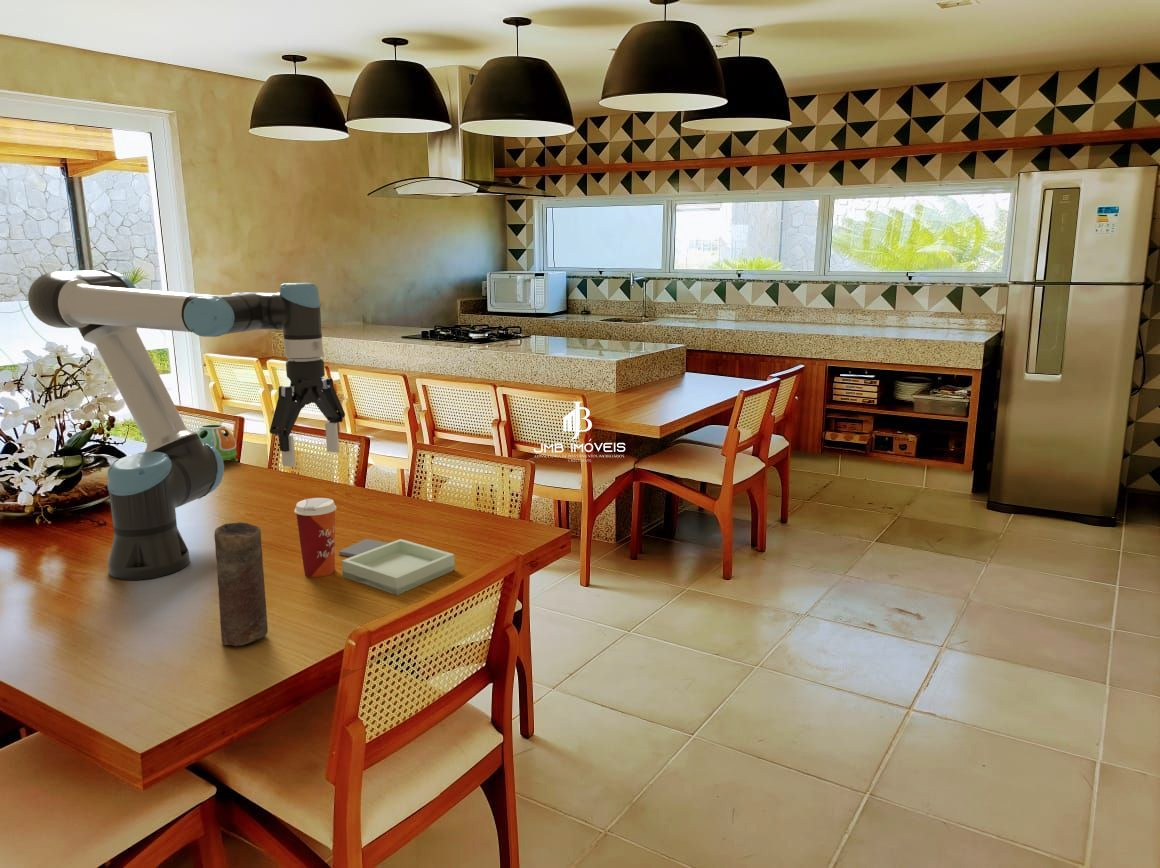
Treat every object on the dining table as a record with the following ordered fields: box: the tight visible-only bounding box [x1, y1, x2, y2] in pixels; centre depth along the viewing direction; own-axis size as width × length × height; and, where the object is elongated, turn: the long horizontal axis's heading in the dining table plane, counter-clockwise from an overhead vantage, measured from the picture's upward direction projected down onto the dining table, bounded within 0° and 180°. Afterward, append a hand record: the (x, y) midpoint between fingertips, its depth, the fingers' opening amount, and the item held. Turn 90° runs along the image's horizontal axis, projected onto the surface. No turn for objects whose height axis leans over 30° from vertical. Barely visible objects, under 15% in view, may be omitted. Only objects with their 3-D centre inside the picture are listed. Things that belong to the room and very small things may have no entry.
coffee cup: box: [294, 497, 338, 578], centre depth 170 cm, size 8×8×15 cm
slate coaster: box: [338, 538, 389, 558], centre depth 183 cm, size 9×9×1 cm
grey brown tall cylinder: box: [213, 521, 269, 647], centre depth 139 cm, size 8×7×20 cm
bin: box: [341, 538, 456, 596], centre depth 170 cm, size 16×16×4 cm
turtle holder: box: [195, 423, 239, 462], centre depth 258 cm, size 12×18×12 cm
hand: (311, 458), depth 175 cm, fingers open, 13 cm apart
